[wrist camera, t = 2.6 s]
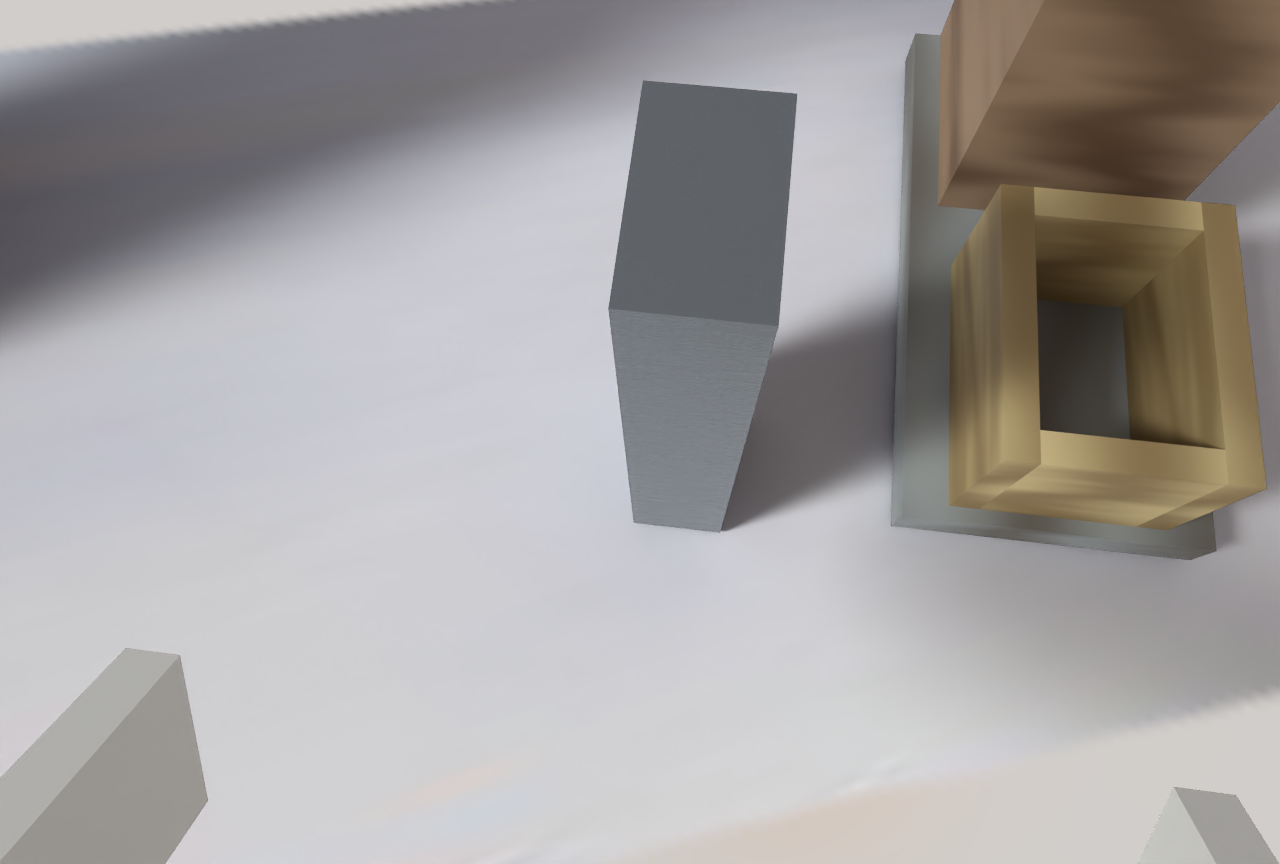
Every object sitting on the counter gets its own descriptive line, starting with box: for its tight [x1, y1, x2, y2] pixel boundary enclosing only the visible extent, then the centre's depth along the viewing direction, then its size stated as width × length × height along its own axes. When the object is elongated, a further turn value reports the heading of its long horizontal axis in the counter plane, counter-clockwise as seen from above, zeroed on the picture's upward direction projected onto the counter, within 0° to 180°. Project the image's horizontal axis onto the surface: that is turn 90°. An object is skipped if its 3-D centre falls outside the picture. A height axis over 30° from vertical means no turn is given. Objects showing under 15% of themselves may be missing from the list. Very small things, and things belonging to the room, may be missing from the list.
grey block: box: [609, 81, 797, 532], centre depth 24 cm, size 3×5×16 cm, turn 173°
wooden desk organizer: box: [891, 0, 1280, 560], centre depth 22 cm, size 10×20×24 cm, turn 173°
